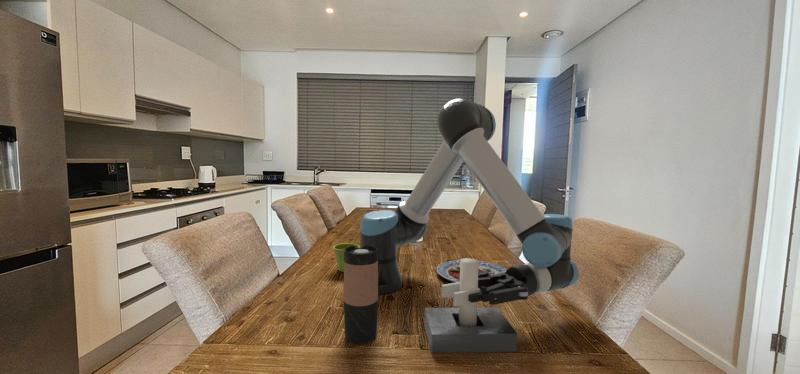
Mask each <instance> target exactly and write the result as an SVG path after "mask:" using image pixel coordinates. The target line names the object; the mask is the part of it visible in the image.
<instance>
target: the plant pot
mask: <svg viewBox="0 0 800 374" xmlns="http://www.w3.org/2000/svg"><path fill="white" fill-rule="evenodd" d="M350 246H355V247H357V248H360V244H356V243H338V244H335V245H333V247H332V248H333V250H334V252H335V257H336V266H337V270H339V271H338V272H340V271H341V273H344V250H345V248H347V247H350Z"/></svg>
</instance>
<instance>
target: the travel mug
mask: <svg viewBox="0 0 800 374" xmlns="http://www.w3.org/2000/svg"><path fill="white" fill-rule="evenodd" d="M378 303H379V294H378V249H377V248H376V247H374V246H369V245H365V246H364V247H361V248H360V247H359V248H357V247H355V246H350V247H347V248H345V250H344V272H343V313H344V315H343V316H344V317H343V318H344V319H343V321H344V338H345V340H346V339H347V340H348V341H349V343H350V342H351V344H353V343H355V344H354V345H365V344H368V342H369V343H371V342H373V341H374V340H375V339H376V337H377V331H378V330H377V329H378V306H379V305H378ZM374 338H375V339H374ZM373 339H374V340H373ZM347 340H346V341H347ZM372 340H373V341H372ZM348 341H347V342H348ZM370 341H371V342H370ZM364 343H365V344H364Z"/></svg>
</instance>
